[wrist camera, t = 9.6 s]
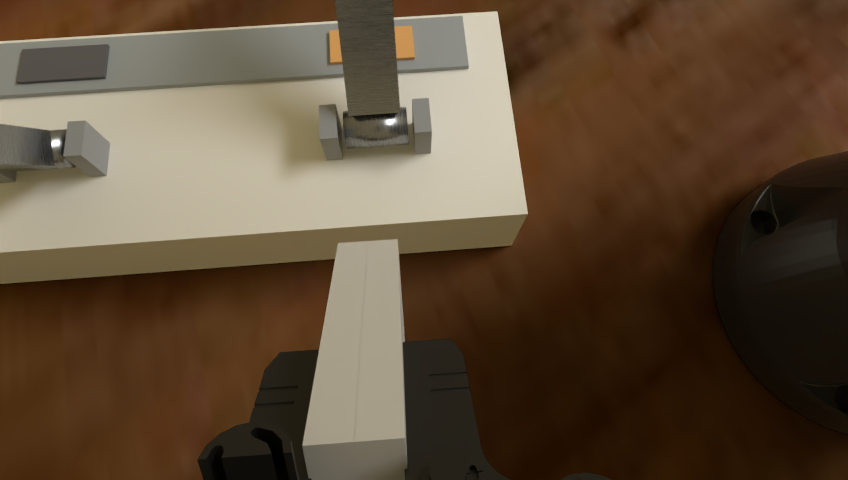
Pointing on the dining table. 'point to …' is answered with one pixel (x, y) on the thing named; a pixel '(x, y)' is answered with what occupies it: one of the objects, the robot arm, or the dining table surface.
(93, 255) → the switch unit
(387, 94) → the right lever
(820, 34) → the dining table surface
